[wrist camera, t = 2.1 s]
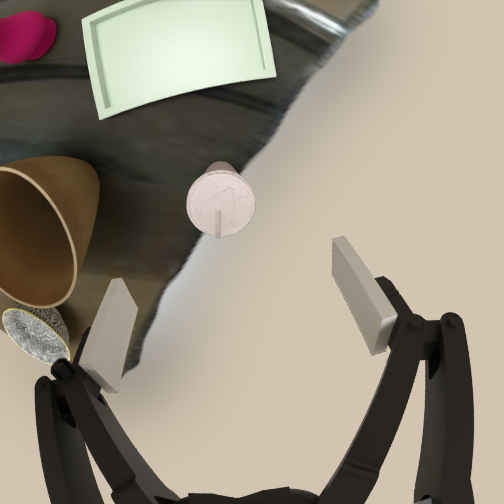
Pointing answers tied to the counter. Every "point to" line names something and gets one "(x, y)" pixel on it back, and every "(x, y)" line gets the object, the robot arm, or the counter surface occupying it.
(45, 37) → the pepper mill
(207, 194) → the smoothie
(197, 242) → the counter surface
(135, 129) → the counter surface
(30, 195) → the plant pot
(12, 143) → the counter surface
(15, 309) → the bowl
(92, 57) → the tray
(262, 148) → the counter surface
